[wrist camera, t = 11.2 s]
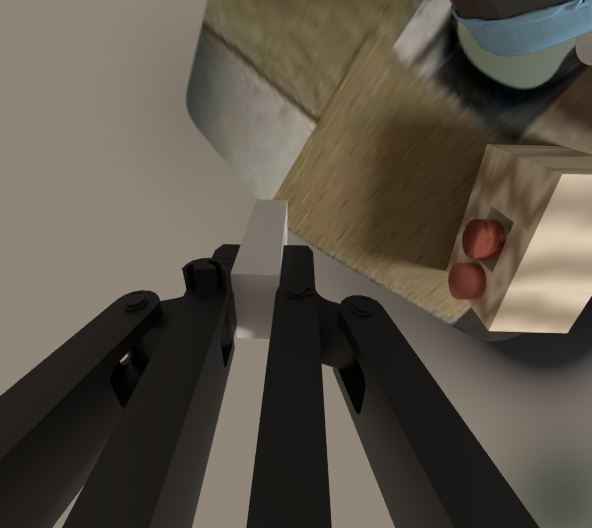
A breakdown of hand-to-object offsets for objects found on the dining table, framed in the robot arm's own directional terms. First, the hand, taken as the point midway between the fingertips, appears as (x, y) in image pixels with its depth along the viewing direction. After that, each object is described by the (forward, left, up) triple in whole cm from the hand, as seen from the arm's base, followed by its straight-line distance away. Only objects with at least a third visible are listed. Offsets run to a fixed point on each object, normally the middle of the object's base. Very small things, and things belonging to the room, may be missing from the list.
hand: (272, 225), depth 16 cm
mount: (+11, +30, -29) cm, 43 cm away
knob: (+11, +30, -24) cm, 40 cm away
